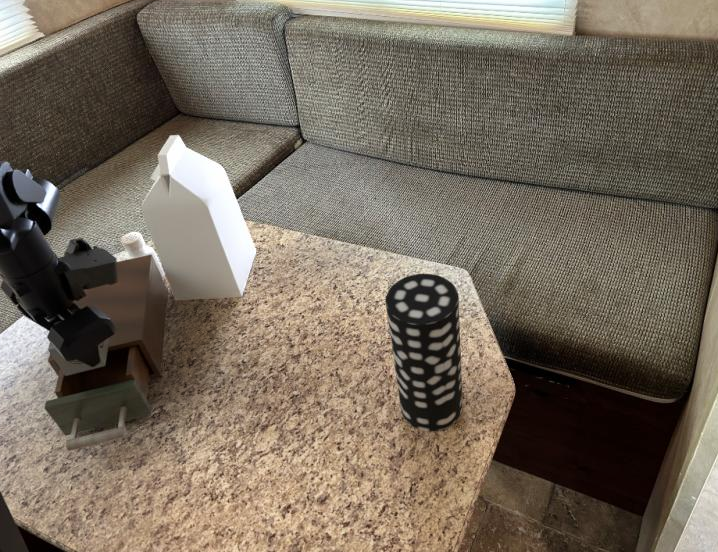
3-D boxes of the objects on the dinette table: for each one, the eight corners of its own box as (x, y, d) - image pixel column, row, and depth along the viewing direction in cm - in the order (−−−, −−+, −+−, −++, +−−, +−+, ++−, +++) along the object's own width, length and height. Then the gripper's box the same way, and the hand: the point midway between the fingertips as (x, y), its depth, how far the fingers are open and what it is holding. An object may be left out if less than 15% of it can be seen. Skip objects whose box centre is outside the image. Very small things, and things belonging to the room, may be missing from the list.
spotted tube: (393, 424, 80) (375, 318, 67) (410, 375, 86) (397, 269, 73) (455, 437, 77) (449, 330, 65) (468, 385, 83) (465, 278, 71)
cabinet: (161, 376, 90) (141, 339, 84) (73, 397, 88) (47, 361, 83) (168, 290, 104) (151, 254, 99) (92, 307, 103) (72, 271, 98)
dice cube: (65, 376, 78) (47, 349, 75) (70, 348, 82) (54, 322, 79) (105, 365, 79) (89, 339, 76) (109, 339, 83) (94, 313, 80)
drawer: (148, 443, 80) (131, 415, 76) (58, 466, 78) (35, 438, 74) (159, 321, 97) (145, 293, 93) (86, 338, 96) (69, 310, 92)
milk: (241, 297, 101) (194, 163, 85) (175, 300, 102) (115, 168, 86) (256, 251, 111) (216, 122, 94) (195, 254, 111) (144, 127, 95)
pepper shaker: (149, 289, 105) (128, 247, 99) (134, 282, 107) (113, 240, 101) (167, 276, 107) (148, 233, 101) (152, 269, 109) (133, 227, 103)
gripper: (130, 256, 69) (174, 347, 79) (60, 203, 80) (107, 289, 90) (34, 312, 63) (95, 403, 73) (-29, 246, 74) (32, 334, 84)
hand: (84, 352), depth 80 cm, fingers closed on dice cube, 6 cm apart
